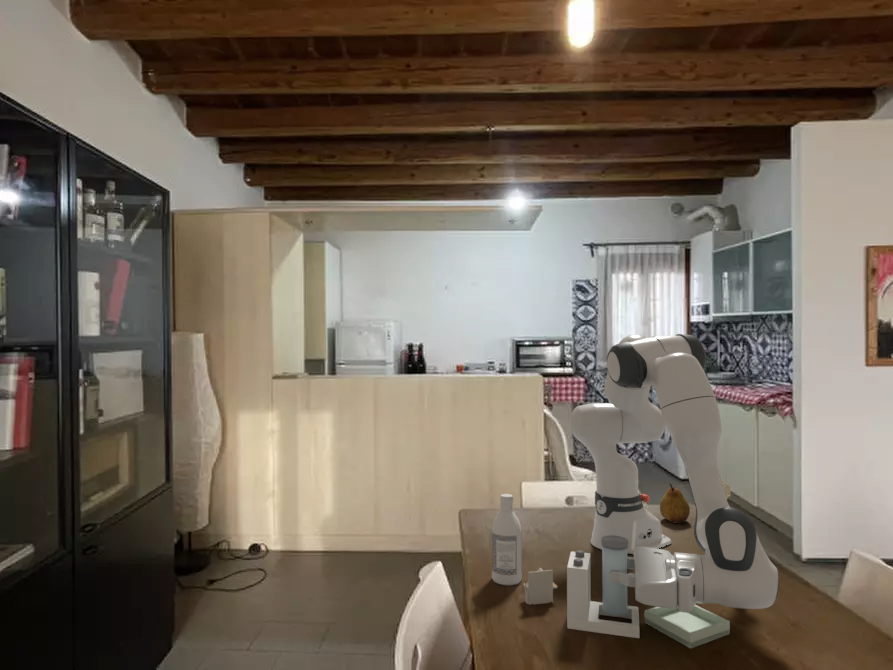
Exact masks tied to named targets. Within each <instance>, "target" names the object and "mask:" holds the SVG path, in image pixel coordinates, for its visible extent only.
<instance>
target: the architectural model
mask: <svg viewBox="0 0 893 670" xmlns="http://www.w3.org/2000/svg"><path fill="white" fill-rule="evenodd" d="M527 573H528V576H527V577H528V579H527V578H525V580H524V582H523V587H524V602H525V603H526V605H527V604H529V606H531V604H533V605H540V604H548V603H550V602H552V603H553V602H554V595H553V594H554V589H558V588H559V587H558V585H557V584H556V583H555V582H554V576H553V575H554V571H553V569H547V570H543V569H542V567H539V568H538V569H537V570H536V571H528V572H527ZM550 604H551V603H550Z"/></svg>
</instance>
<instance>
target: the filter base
mask: <svg viewBox="0 0 893 670" xmlns="http://www.w3.org/2000/svg"><path fill="white" fill-rule="evenodd" d="M591 581H592V580H591V553H590V552H585V551H584V550H580V549H579V550H576V551H570V554H569V558H568V562H567V566H566V603H567V604H566V609H567V610H566V612H567V613H566V616H567V617H566V623H567V625H566V626H567V630H568V629H569V630H577V631H583V632H591V633H598V634H605V635H612V636H613V635H614V636H620V637H626V638H634V639H635V638H636V639H640V615H639V613H640V612H639V611H640V610H639V606H634V605H633V606H632V605H627V613H626V614H624V615H611V614H608V613H606V612H605V611H603V608H602V602H601V601H594V600H593V601H592V600H591V598H592V597H591V594H592V593H591ZM600 616H608V617H616V618H623V619H629V620H631V623H630V622H621V621H616V620H615V621H614V620H608V619H606V620H605V619H600Z"/></svg>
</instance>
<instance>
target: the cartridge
mask: <svg viewBox="0 0 893 670" xmlns="http://www.w3.org/2000/svg"><path fill="white" fill-rule="evenodd" d="M601 545H602V549H601V551H602V552H601V553H602V555H601V557H602V558H601V561H602V564H601V565H602V572H601V576H602V579H601V581H602V582H601V583H602V585H601V586H602V588H601V589H602V590H601V591H602V608H603V611H605V612H606V613H608V614H611V615H624V614H626V613H627V606H628V586H626V585H624V584H621V583H619V582H612V581H610V571H611V570H619V572H622V573H626V574H628V568H627V557H628V553H627V548H628V540H627V539H626V538H624V537H620V536H614V535H609V536H604V537H602V538H601Z"/></svg>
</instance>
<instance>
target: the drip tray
mask: <svg viewBox="0 0 893 670" xmlns="http://www.w3.org/2000/svg"><path fill="white" fill-rule="evenodd" d="M730 622H731V621H730V620H729V619H726V618H724V617H722V616H720V615H718V614H716V613H714V612H712V611H710V610H707V609H705V608H703V607H701V606H699V605H697V604H696V605H695V606H694V607H693V609H692V611H691V612H689V613H686V612H680V611H679V610H678V607H676V608H662V607H655V606H653V607H652V608H647V609H645V610H644V624H645V625H647V624H648V625H647V626H649V625H650V627H651V626H652V627H651V628H653V629H655V630H656V629H657V631H659V632H660V633H662V634H664V635H665V636H667V637H669V638H671V639H673V640H674V641H676V642H678V643H680V644H682V645H684V646H686V647H687V648H688V649H693V648H696V647H699V646H701V645H704V644H707V643H709V642H712V641H714V640H718V639H721V638H723V637H725V636H729V635H730V633H731V632H730V631H731V630H730V629H731V623H730Z"/></svg>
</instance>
